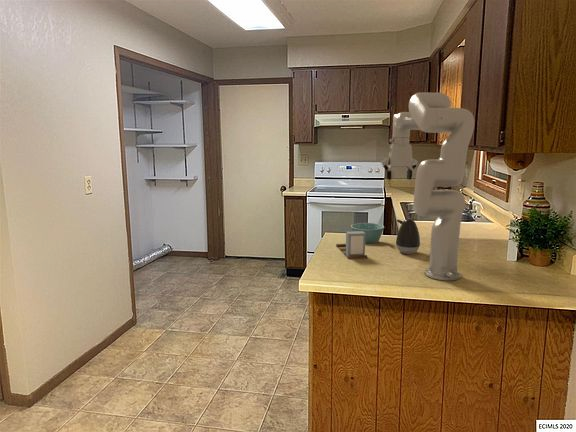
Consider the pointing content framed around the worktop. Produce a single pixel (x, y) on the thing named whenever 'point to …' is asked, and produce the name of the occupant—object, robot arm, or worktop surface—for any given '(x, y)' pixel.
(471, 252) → the worktop surface
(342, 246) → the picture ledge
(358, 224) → the bowl
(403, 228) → the pump dispenser
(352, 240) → the picture frame
